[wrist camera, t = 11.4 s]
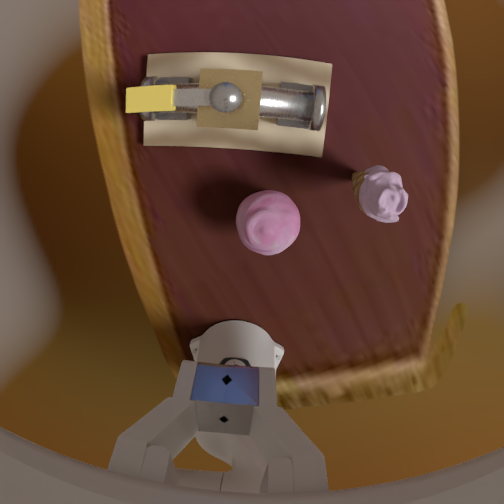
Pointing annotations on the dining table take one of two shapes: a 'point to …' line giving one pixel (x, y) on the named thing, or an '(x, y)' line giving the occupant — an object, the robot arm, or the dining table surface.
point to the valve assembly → (253, 102)
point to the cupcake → (268, 222)
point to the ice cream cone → (379, 193)
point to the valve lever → (182, 98)
